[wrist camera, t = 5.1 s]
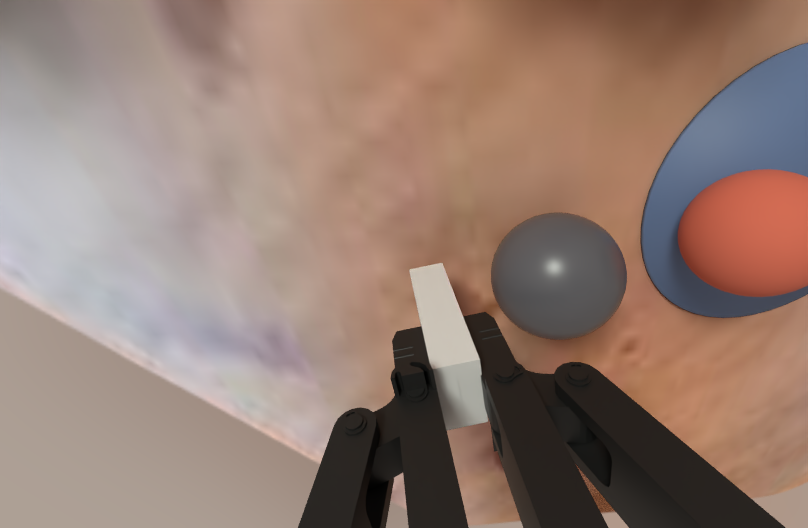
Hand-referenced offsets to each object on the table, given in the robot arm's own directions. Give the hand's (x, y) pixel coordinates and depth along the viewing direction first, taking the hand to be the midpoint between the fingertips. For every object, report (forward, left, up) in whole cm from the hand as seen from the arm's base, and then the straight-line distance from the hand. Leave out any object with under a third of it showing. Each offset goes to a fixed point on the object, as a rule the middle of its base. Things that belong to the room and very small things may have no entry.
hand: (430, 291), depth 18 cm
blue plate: (-16, -9, -2) cm, 18 cm away
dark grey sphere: (-5, -3, +1) cm, 6 cm away
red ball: (-12, -7, +1) cm, 14 cm away
